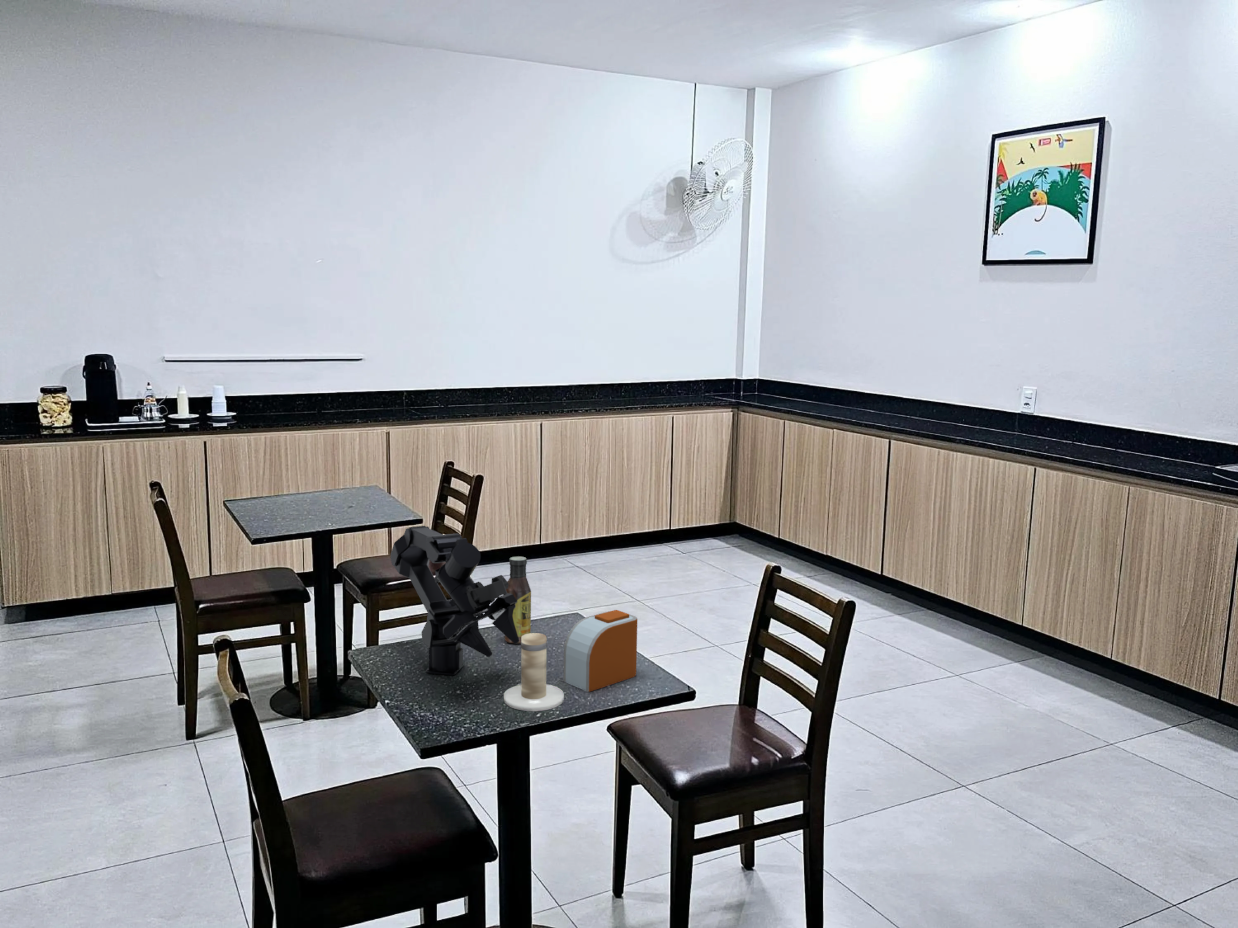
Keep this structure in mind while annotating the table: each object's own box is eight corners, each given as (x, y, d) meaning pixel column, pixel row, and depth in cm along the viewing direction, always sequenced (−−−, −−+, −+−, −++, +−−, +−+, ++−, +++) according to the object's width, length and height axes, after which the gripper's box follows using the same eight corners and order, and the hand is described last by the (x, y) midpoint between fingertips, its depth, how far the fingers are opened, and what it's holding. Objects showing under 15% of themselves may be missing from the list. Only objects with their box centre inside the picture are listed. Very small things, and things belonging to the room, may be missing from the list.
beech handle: (515, 695, 201) (515, 638, 199) (530, 687, 205) (530, 631, 203) (536, 701, 198) (537, 643, 196) (551, 692, 202) (552, 635, 201)
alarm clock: (613, 664, 222) (614, 605, 220) (640, 675, 216) (641, 614, 214) (562, 680, 212) (562, 619, 210) (588, 692, 206) (589, 629, 204)
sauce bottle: (526, 645, 233) (526, 562, 230) (500, 643, 234) (500, 561, 231) (534, 636, 239) (534, 556, 236) (509, 634, 240) (509, 554, 237)
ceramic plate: (496, 708, 197) (496, 703, 197) (513, 685, 208) (513, 680, 208) (555, 713, 195) (555, 708, 195) (569, 690, 206) (569, 685, 206)
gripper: (454, 575, 196) (499, 640, 192) (510, 555, 212) (553, 615, 208) (423, 607, 201) (467, 671, 197) (480, 586, 217) (522, 644, 213)
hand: (504, 648), depth 204 cm, fingers open, 9 cm apart
